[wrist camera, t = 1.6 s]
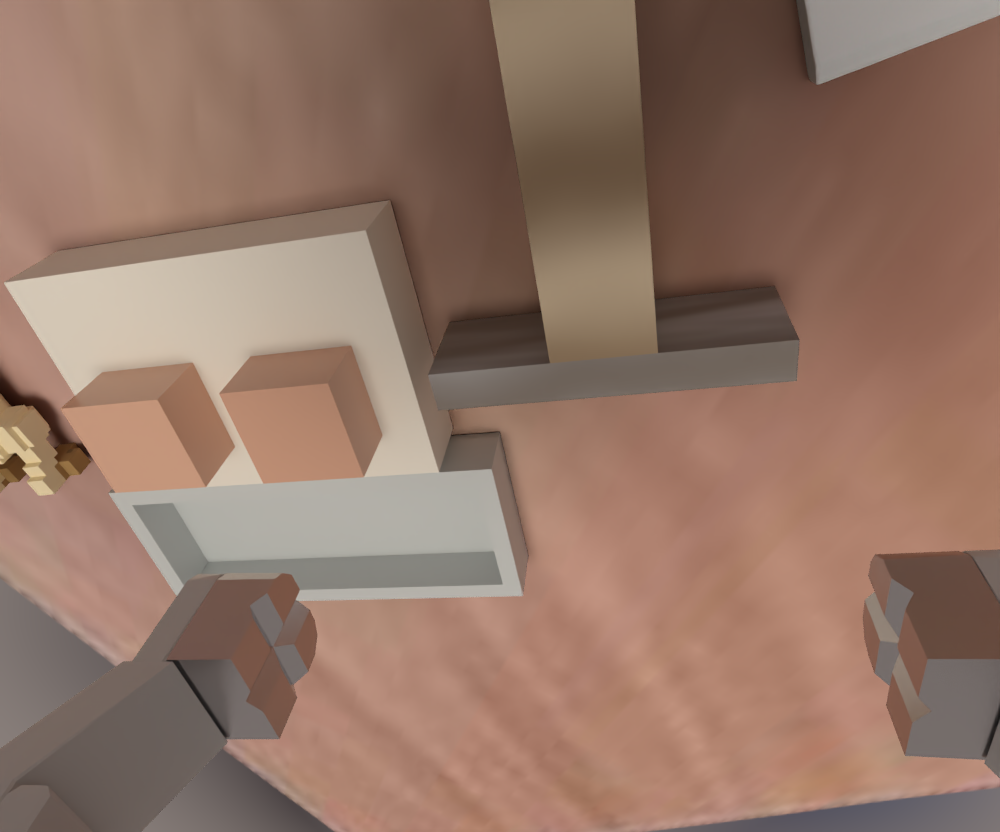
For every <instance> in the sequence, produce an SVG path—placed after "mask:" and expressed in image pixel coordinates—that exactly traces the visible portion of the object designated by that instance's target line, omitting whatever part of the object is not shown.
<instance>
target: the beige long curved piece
mask: <svg viewBox="0 0 1000 832" xmlns="http://www.w3.org/2000/svg"><path fill="white" fill-rule="evenodd" d="M49 430H50V428H49V425H48V423H47V422H46V421H45V420H44V419H43V417H42V416H41V415H40V414H39V413H38V411H37V410H36V409H35V408H34V407H33V406H28V407H26V406H25V405H20V406H13V407H11V405H10V404H9V403H8V402H7V401H6V400H5V399H4V397H3V396H2V395H1V394H0V493H1V491H2V490H3V489H4V488H5V487H6V486H7V485H8V484H9V483H11V482H19V481H20V480H21V479H22V478H23V477H24V476H25V475H26V474H28V475H29V476H30V477H31V478H30V479H29V480H28V481H27V483H28V484H29V485H30V486H31V488H32V489H33V490H34V491H35V492H36V493H37V494H38V495H39V496H41V495H50V494H55V493H56V492H57V491H58V489H59V488H60V487H61V486H62V485H63V483H64V482H65V481H66V480H67V479H68V477H69V476H71V475H80V474H81V473H82V472H83V470H84V469H85V468H86V467H87V466H88V464H89V463H90V462H91V461H90V460H89V459H88V457H87V456H86V455H85V454H84V452H83V451H82V450H81V449H80V448H78V447H77V445H76V444H75V443H69V444H61V445H59V446H58V447H57V448H56V449H54V448H53V447H52V446H51V445H50V443H49V442H48V441H47V440H46V438H47V437H48V436H49V433H48V432H49Z"/></svg>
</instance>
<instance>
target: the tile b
mask: <svg viewBox="0 0 1000 832" xmlns="http://www.w3.org/2000/svg"><path fill="white" fill-rule="evenodd" d="M219 395H220V397H221V399H222V401H223V403H224V405H225V407H226V409H227V411H228V413H229V415H230V417H231V419H232V421H233V423H234V425H235V427H236V429H237V431H238V433H239V435H240V438H241V440H242V442H243V444H244V446H245V448H246V450H247V452H248V454H249V456H250V458H251V460H252V462H253V464H254V466H255V468H256V470H257V472H258V474H259V476H260V478H261V480H262V482H263V484H266V483H282V482H297V481H313V480H329V479H345V478H361V477H364V476H365V474H366V472H367V469H368V467H369V465H370V463H371V460H372V458H373V456H374V454H375V452H376V449H377V447H378V445H379V443H380V440H381V438H382V436H383V435H382V432H381V429H380V426H379V424H378V421H377V418H376V415H375V412H374V409H373V406H372V404H371V401H370V398H369V395H368V392H367V389H366V386H365V383H364V381H363V378H362V375H361V372H360V369H359V366H358V363H357V361H356V358H355V355H354V352H353V349H352V346H343V347H334V348H324V349H315V350H306V351H296V352H287V353H278V354H268V355H259V356H250V357H249V359H248V360H247V361H246V362H245V363H244V364H243V366H242V367H241V368H240V369H239V370H238V372H237V373H236V374H235V375H234V376H233V378H232V379H231V380H230V381H229V382H228V384H227V385H226V386H225V387H224V388H223V390H222V391H221V392H220V393H219Z"/></svg>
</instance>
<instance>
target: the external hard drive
mask: <svg viewBox="0 0 1000 832" xmlns="http://www.w3.org/2000/svg"><path fill="white" fill-rule="evenodd" d="M796 2H797V8H798V15H799V21H800V27H801V34H802V40H803V46H804V52H805V59H806V66H807V72H808V76H809V79H810V81H811V82H813V83H815V84H816V85H819V84H822V83H825V82H827V81H830V80H832V79H835V78H838V77H840V76H843V75H845V74H848V73H851V72H854V71H856V70H859V69H862V68H864V67H867V66H870V65H872V64H875V63H877V62H880V61H882V60H885V59H888V58H890V57H893V56H895V55H898V54H900V53H903V52H906V51H908V50H911V49H913V48H916V47H918V46H921V45H924V44H926V43H929V42H932V41H934V40H937V39H939V38H942V37H945V36H947V35H950V34H953V33H955V32H958V31H960V30H963V29H966V28H968V27H971V26H973V25H976V24H979V23H981V22H984V21H986V20H989V19H992V18H994V17H997V16H999V15H1000V0H796Z"/></svg>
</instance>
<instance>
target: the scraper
mask: <svg viewBox="0 0 1000 832" xmlns="http://www.w3.org/2000/svg"><path fill="white" fill-rule="evenodd" d="M489 4H490V10H491V16H492V21H493V27H494V33H495V39H496V45H497V51H498V57H499V63H500V69H501V75H502V81H503V87H504V93H505V99H506V105H507V111H508V117H509V123H510V129H511V135H512V140H513V146H514V152H515V158H516V164H517V170H518V176H519V182H520V188H521V194H522V200H523V206H524V212H525V218H526V224H527V230H528V236H529V242H530V248H531V253H532V259H533V265H534V271H535V277H536V283H537V289H538V295H539V301H540V307H541V312H538V313H529V314H520V315H511V316H502V317H493V318H484V319H475V320H466V321H457V322H449V325H448V327H447V329H446V332H445V334H444V337H443V339H442V342H441V344H440V347H439V349H438V351H437V354H436V356H435V359H434V361H433V364H432V366H431V369H430V371H429V373H428V377H429V380H430V384H431V387H432V391H433V394H434V398H435V401H436V405H437V408H438V411H439V410H451V409H463V408H475V407H487V406H499V405H511V404H523V403H535V402H548V401H560V400H572V399H584V398H596V397H608V396H620V395H632V394H644V393H656V392H669V391H681V390H693V389H705V388H717V387H729V386H741V385H753V384H765V383H777V382H790V381H797V370H798V354H799V338H798V336H797V333H796V331H795V329H794V327H793V325H792V323H791V320H790V318H789V316H788V314H787V312H786V309H785V307H784V305H783V303H782V301H781V299H780V296H779V294H778V292H777V290H776V288H775V286H772V287H763V288H754V289H745V290H736V291H727V292H718V293H709V294H700V295H691V296H682V297H673V298H664V299H655V300H654V285H653V270H652V255H651V240H650V225H649V210H648V194H647V179H646V164H645V149H644V134H643V119H642V104H641V89H640V74H639V59H638V44H637V29H636V13H635V0H489Z"/></svg>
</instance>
